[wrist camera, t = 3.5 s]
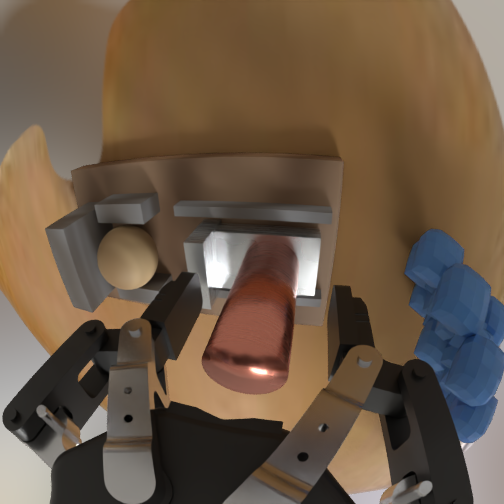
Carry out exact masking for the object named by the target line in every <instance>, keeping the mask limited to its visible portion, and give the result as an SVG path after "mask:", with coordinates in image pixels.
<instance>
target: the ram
mask: <svg viewBox="0 0 504 504" xmlns="http://www.w3.org/2000/svg"><path fill="white" fill-rule="evenodd" d="M183 243H184V250H185V257H186V263H187V269H188V272H192V273H198V275H199V278H200V285H201V291H202V298H203V305H202V308H203V309H212V307H213V305H214V302H215V300H216V298H217V296H218V294H219V292H220V290H221V288H228V289H231V290H230V292H229V294H228V297H227V299H226V301H225V304H224V306H223V308H222V311H221V313H220V315H219V318H218V320H217V323H216V325H215V327H214V330H213V332H212V334H211V337H210V339H209V342H208V344H207V346H206V349H205V351H204V353H203V356H202V366H203V368H204V370H205V372H206V373H207V374H208V376H209V377H210V378H211V379H213V380H214V381H215V382H217V383H218V384H220V385H221V386H223V387H225V388H228V389H230V390H233V391H236V392H240V393H245V394H266V393H270V392H273V391H276V390H278V389H279V388H281V387H282V386H283V385H284V384H285V383H286V381H287V378H288V372H289V364H290V356H291V347H292V339H293V329H294V320H295V310H296V299H297V295H306V296H314V294H315V287H316V279H317V271H318V263H319V254H320V245H321V232H320V229H314V228H299V227H284V226H268V225H250V224H231V223H221V220H215V219H204V220H203V221H202V222H201V223H200V224H199V225H198V226H197V228H196V229H195V230H194V231H193V232H192V233H191V234H190V236H189V237H188V238H187V239H186V240H185V241H184V242H183Z"/></svg>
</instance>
